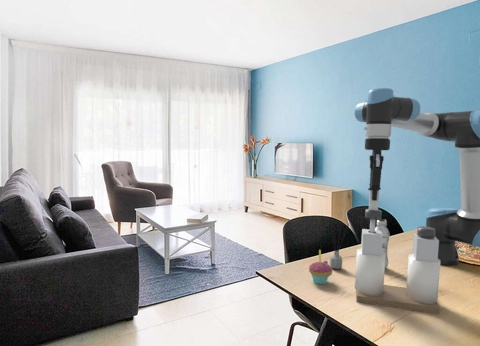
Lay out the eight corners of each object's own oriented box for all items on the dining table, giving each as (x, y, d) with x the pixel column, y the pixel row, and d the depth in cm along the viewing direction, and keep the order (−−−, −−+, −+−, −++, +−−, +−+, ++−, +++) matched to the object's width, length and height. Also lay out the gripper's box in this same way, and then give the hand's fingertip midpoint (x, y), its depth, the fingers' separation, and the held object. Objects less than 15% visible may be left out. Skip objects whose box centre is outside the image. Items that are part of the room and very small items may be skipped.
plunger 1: (379, 236, 114) (380, 209, 113) (380, 241, 109) (382, 212, 108) (363, 235, 115) (364, 208, 114) (364, 239, 110) (365, 211, 109)
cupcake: (305, 277, 128) (306, 246, 127) (327, 276, 129) (328, 246, 128) (312, 286, 120) (313, 254, 119) (335, 286, 120) (337, 254, 119)
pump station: (431, 296, 114) (436, 233, 111) (441, 314, 102) (447, 244, 100) (353, 286, 121) (357, 226, 119) (354, 301, 110) (358, 235, 107)
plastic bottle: (389, 272, 134) (392, 223, 132) (371, 270, 136) (374, 222, 134) (386, 266, 141) (389, 219, 139) (369, 264, 142) (371, 218, 140)
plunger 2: (431, 255, 109) (433, 227, 108) (435, 260, 105) (437, 231, 104) (414, 253, 111) (416, 225, 110) (417, 258, 106) (419, 229, 105)
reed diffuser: (348, 268, 137) (351, 220, 135) (343, 274, 131) (346, 224, 129) (324, 263, 143) (326, 217, 141) (318, 268, 137) (320, 220, 135)
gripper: (364, 137, 116) (360, 205, 118) (366, 137, 103) (362, 212, 106) (387, 138, 114) (383, 206, 116) (393, 137, 101) (388, 214, 104)
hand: (373, 209), depth 111 cm, fingers closed
